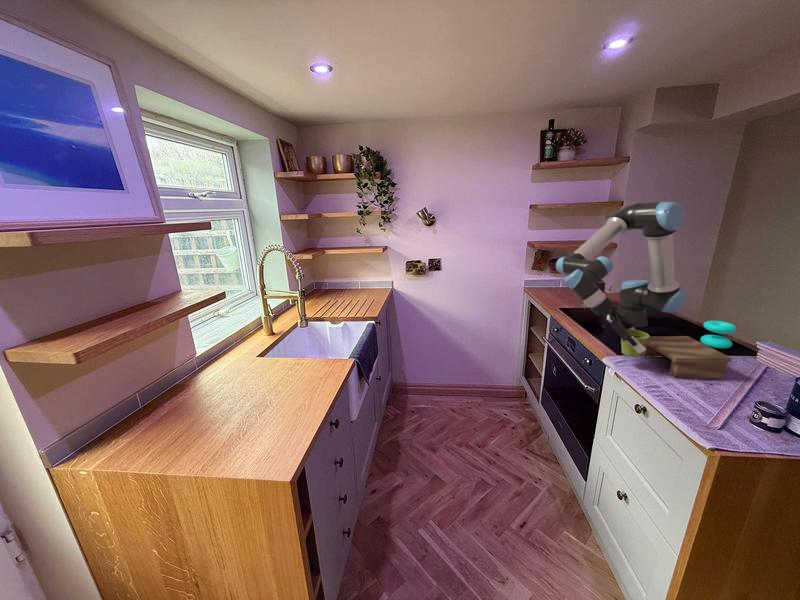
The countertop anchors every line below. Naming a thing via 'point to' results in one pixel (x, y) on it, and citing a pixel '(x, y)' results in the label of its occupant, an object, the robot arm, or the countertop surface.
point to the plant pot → (639, 336)
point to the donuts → (715, 339)
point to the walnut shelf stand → (688, 356)
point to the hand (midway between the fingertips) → (642, 346)
